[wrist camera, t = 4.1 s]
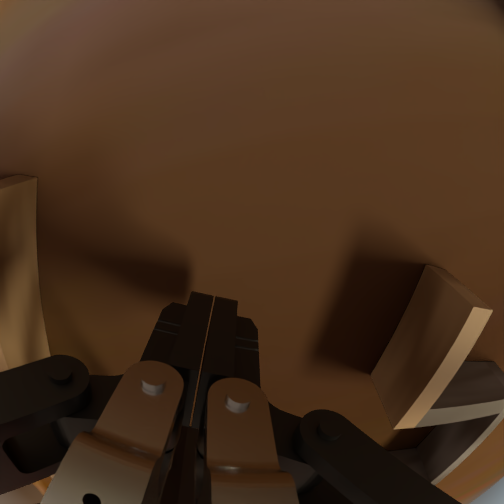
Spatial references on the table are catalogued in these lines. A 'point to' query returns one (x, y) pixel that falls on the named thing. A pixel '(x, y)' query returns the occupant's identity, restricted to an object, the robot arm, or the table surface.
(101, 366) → the table surface
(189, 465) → the coffee mug
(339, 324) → the table surface
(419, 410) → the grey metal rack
